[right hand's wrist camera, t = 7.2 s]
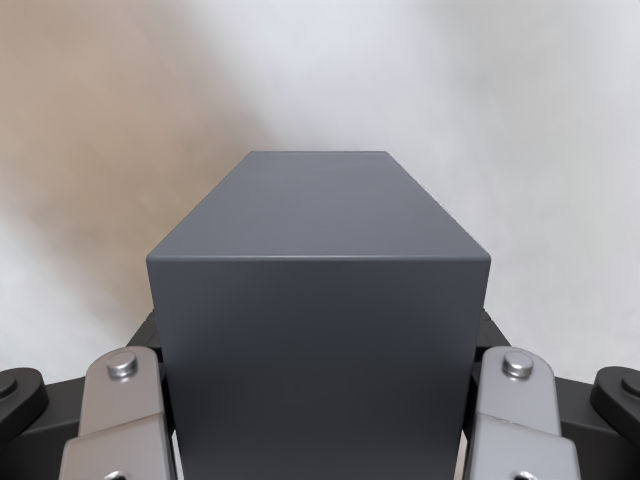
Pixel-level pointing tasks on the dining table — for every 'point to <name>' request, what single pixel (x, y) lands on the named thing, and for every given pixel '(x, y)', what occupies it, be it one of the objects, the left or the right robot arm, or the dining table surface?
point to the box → (318, 322)
